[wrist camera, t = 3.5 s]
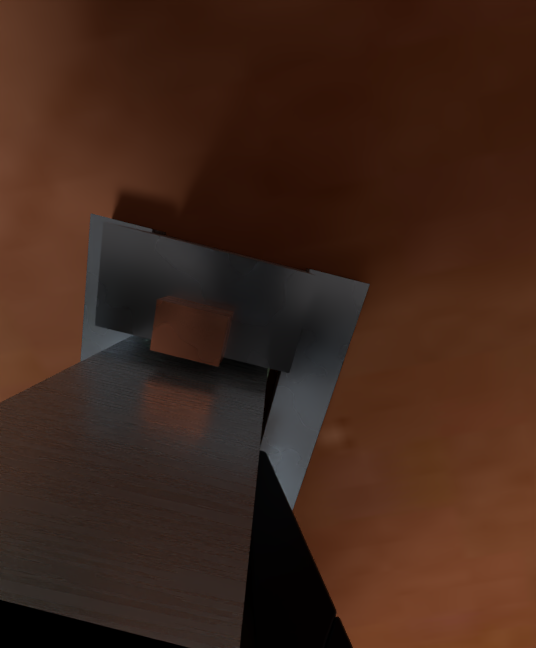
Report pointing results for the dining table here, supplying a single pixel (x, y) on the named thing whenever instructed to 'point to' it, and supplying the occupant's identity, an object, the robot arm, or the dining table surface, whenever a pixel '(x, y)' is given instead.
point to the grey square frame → (227, 323)
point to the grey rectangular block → (129, 502)
